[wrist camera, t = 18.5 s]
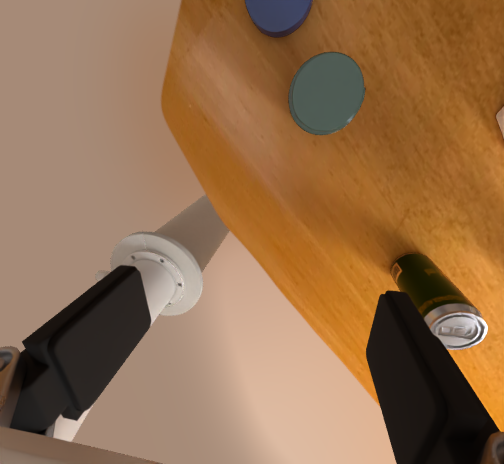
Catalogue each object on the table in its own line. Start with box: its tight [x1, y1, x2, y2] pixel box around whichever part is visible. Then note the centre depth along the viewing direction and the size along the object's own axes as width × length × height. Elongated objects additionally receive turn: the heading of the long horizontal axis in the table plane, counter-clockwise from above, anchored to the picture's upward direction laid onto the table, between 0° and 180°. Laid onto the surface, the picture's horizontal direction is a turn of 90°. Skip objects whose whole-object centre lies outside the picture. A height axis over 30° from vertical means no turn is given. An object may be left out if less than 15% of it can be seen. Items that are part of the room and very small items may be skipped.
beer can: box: [391, 253, 488, 350], centre depth 29 cm, size 5×5×12 cm
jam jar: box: [288, 52, 366, 135], centre depth 24 cm, size 6×6×11 cm
